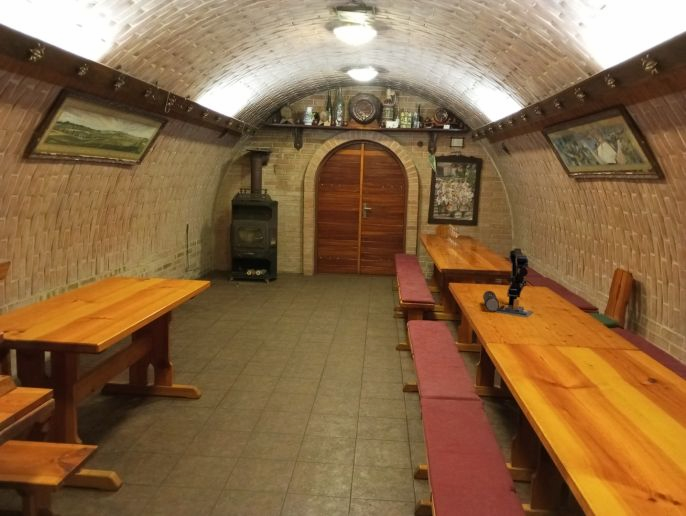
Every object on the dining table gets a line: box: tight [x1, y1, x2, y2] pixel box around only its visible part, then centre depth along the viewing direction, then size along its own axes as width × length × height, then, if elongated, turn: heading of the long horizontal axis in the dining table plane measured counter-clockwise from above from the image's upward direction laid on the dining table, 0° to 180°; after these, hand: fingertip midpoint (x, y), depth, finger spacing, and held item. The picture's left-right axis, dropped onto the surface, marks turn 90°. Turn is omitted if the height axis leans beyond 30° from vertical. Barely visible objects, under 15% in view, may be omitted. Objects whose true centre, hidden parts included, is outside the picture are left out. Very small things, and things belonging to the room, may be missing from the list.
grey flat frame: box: [496, 305, 527, 315], centre depth 389 cm, size 15×20×1 cm
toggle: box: [513, 299, 520, 309], centre depth 391 cm, size 3×3×7 cm
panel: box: [494, 306, 534, 318], centre depth 389 cm, size 16×22×1 cm
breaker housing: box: [505, 305, 527, 312], centre depth 388 cm, size 13×12×2 cm
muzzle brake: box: [482, 290, 500, 312], centre depth 399 cm, size 10×28×10 cm, turn 169°
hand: (518, 295), depth 394 cm, fingers closed
